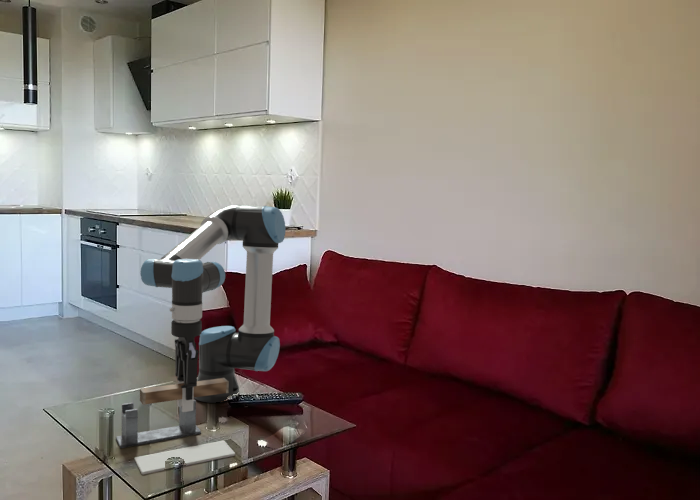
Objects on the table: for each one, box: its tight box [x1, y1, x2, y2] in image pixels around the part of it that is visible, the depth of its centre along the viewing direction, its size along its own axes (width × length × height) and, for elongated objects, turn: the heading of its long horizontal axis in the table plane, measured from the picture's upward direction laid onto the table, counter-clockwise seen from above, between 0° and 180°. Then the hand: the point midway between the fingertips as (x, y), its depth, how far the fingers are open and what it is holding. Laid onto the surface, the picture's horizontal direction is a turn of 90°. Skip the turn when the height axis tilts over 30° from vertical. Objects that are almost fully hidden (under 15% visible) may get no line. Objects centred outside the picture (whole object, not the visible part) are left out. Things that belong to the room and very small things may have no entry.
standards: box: [115, 399, 202, 449], centre depth 171 cm, size 22×6×10 cm, turn 121°
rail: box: [139, 378, 229, 406], centre depth 157 cm, size 22×4×3 cm, turn 121°
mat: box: [134, 439, 236, 475], centre depth 160 cm, size 24×9×1 cm, turn 121°
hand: (185, 408), depth 158 cm, fingers closed on rail, 3 cm apart
